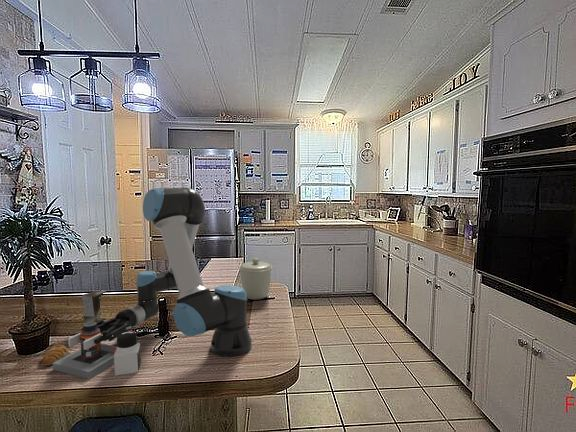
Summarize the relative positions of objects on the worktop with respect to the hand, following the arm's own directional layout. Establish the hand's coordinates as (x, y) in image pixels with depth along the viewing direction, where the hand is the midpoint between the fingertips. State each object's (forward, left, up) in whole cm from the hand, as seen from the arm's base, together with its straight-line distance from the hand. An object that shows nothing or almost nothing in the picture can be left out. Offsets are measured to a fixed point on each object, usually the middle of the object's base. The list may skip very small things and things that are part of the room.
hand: (76, 344), depth 115 cm
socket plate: (0, -5, -9) cm, 10 cm away
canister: (-25, -86, -9) cm, 90 cm away
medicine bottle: (-15, -6, -9) cm, 19 cm away
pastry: (+14, -3, -9) cm, 17 cm away
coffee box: (+20, -26, -9) cm, 34 cm away
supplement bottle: (0, -5, -7) cm, 8 cm away
